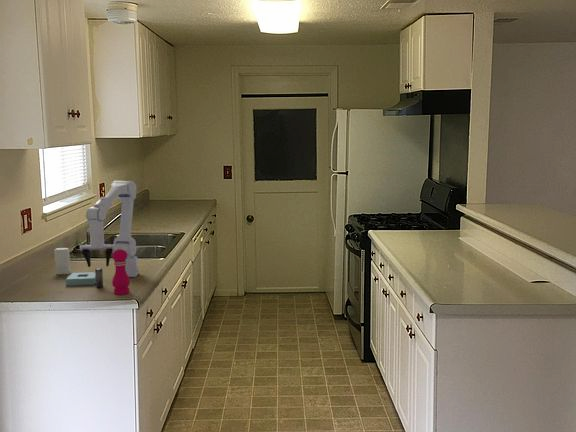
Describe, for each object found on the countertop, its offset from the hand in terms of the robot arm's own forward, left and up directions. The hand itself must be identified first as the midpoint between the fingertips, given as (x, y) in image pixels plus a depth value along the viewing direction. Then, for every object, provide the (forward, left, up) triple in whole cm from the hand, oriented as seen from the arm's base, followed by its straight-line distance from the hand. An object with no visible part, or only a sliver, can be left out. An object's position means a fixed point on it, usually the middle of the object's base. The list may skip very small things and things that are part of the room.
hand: (98, 266), depth 271 cm
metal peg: (0, 0, -9) cm, 9 cm away
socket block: (+9, -10, -9) cm, 16 cm away
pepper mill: (-11, +11, -10) cm, 18 cm away
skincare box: (+22, -28, -10) cm, 37 cm away
